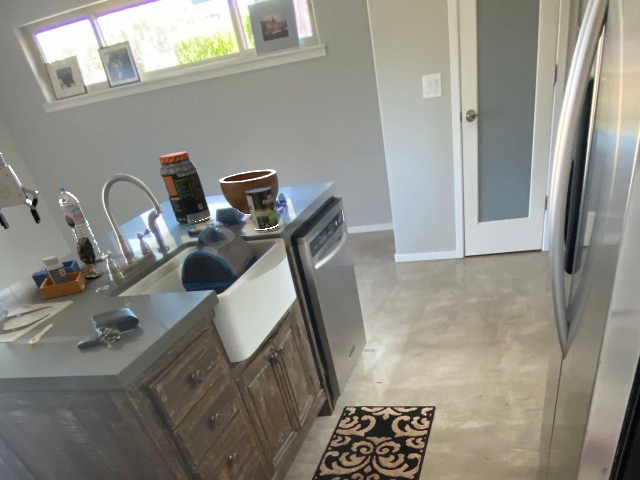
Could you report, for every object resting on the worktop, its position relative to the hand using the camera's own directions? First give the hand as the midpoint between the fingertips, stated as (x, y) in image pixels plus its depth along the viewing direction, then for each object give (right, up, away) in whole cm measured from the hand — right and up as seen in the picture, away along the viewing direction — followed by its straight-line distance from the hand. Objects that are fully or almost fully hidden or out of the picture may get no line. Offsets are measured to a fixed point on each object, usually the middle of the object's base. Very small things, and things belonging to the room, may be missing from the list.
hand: (23, 225), depth 167 cm
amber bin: (+8, -17, +10) cm, 21 cm away
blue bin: (-2, -6, +24) cm, 25 cm away
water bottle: (+3, +6, +37) cm, 37 cm away
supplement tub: (+29, +42, +72) cm, 88 cm away
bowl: (+60, +41, +66) cm, 98 cm away
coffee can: (+70, +22, +43) cm, 85 cm away
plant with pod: (+11, -7, +20) cm, 24 cm away
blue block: (-3, -13, +16) cm, 21 cm away
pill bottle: (+8, -16, +10) cm, 21 cm away
